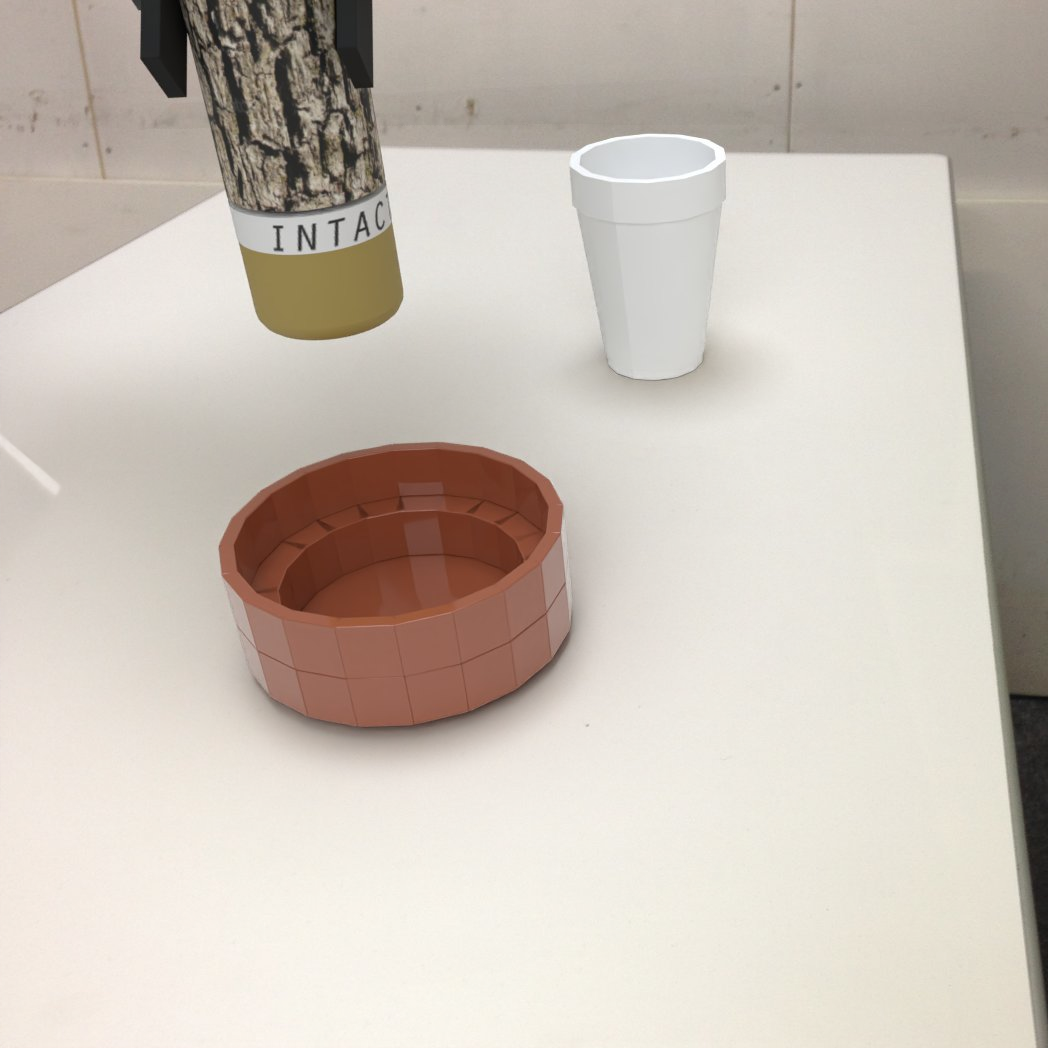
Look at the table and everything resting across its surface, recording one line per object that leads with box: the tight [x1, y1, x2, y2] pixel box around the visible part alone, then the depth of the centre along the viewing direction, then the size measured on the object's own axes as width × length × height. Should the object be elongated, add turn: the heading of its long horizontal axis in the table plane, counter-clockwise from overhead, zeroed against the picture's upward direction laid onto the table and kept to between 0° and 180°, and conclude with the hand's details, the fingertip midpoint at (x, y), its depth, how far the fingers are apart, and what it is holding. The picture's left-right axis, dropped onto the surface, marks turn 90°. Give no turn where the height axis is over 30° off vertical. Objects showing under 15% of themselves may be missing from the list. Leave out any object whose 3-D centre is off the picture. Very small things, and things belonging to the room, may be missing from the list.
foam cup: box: [568, 133, 727, 381], centre depth 80 cm, size 10×9×13 cm
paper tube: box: [180, 0, 404, 341], centre depth 52 cm, size 7×7×25 cm
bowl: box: [217, 441, 573, 728], centre depth 60 cm, size 15×15×6 cm
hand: (259, 72), depth 49 cm, fingers closed on paper tube, 7 cm apart
